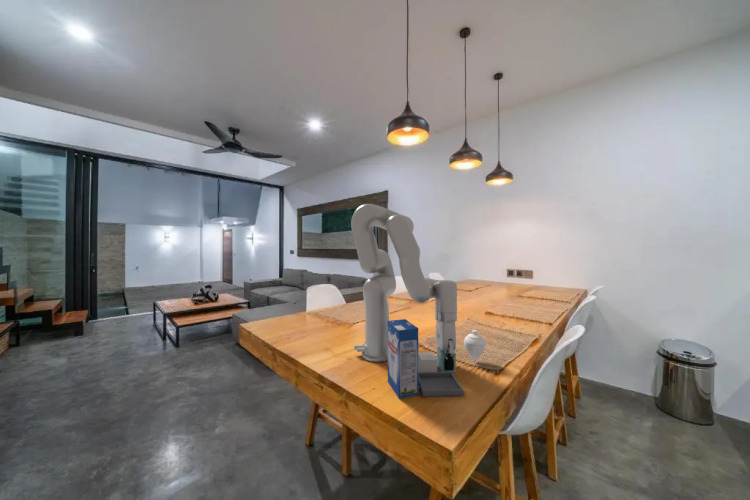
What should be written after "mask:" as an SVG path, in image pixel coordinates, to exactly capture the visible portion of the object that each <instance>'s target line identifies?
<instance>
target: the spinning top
mask: <svg viewBox="0 0 750 500" xmlns="http://www.w3.org/2000/svg"><path fill="white" fill-rule="evenodd" d="M471 332H472V333H469V334H467V335H466V336H465V337H464V339H463V343H464V347H465V350H466V352H468V354H469V356H470V357H471V359H472V360H473V362H474V363H476V360H478V359H479V358H480V357H481V355H482V354H483V353H484V351H485V349H486V348H487V347H486V346H487V344H486V343H487V342H486V339H485V338H484V337H483V336H482V335H480V334H479V333H478V332H479V331H478V330H477V329H476V330H475V329H472V330H471Z"/></svg>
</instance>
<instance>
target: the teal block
mask: <svg viewBox="0 0 750 500" xmlns="http://www.w3.org/2000/svg"><path fill="white" fill-rule="evenodd" d="M446 350H449V348H447V349H446ZM449 352H450V351H448V352H447V355H448V353H449ZM456 356H457V355H456V352H455V355H454V370H445V369H444V358H445V351H442V350H441V349H440V348H439V346H437V347H436V359H437V367H438V368H439V369H438V370H440V372H452V373H456V372H457V371H456V369H457V361H456V360H457V358H456Z"/></svg>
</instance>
